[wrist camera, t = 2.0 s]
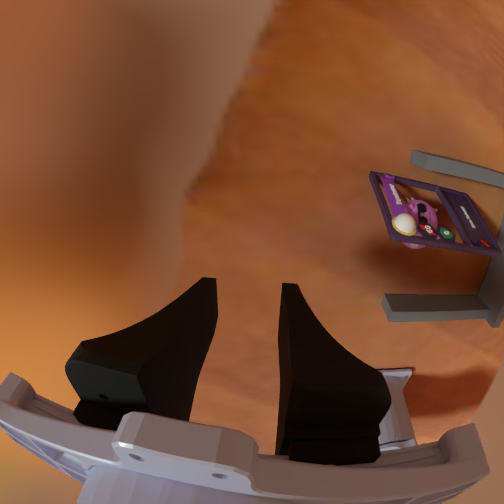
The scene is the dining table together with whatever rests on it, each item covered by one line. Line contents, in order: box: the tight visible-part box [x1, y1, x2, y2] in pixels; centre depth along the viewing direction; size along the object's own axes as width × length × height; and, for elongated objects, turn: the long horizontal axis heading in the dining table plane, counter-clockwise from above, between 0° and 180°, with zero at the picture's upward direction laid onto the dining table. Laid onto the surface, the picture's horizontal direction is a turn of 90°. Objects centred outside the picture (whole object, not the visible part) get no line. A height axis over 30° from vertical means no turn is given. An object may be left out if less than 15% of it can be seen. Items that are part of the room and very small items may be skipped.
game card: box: [369, 171, 502, 258], centre depth 17 cm, size 7×5×9 cm
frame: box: [381, 150, 504, 328], centre depth 18 cm, size 13×12×4 cm
